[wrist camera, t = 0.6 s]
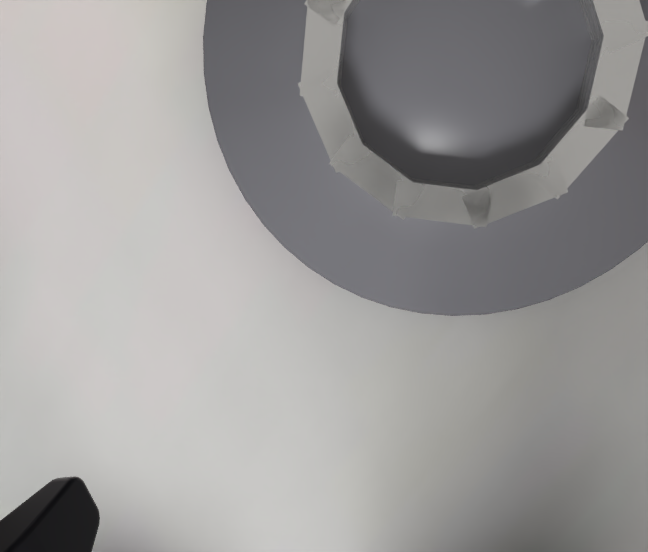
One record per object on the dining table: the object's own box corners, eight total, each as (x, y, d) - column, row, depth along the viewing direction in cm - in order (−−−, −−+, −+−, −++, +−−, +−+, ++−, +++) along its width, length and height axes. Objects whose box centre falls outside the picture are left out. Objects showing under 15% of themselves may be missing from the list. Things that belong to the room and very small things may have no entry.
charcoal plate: (801, 201, 20) (817, 205, 19) (329, 369, 24) (326, 377, 23) (650, -383, 16) (662, -407, 16) (124, -68, 20) (113, -75, 20)
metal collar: (670, 146, 19) (687, 148, 18) (376, 262, 22) (375, 270, 20) (568, -188, 17) (581, -210, 16) (255, -19, 20) (246, -27, 18)
